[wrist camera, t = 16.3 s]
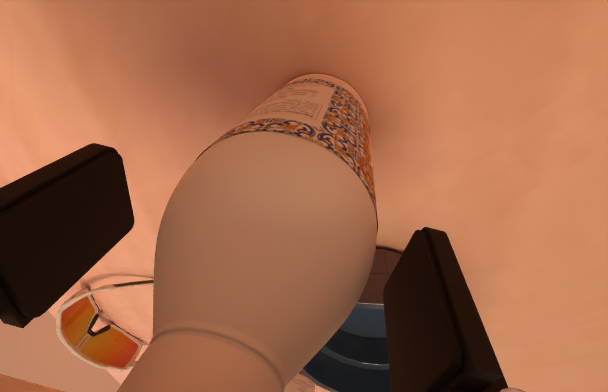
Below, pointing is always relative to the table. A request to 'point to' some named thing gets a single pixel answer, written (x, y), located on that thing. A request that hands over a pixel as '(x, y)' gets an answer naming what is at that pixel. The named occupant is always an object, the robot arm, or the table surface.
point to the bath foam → (263, 245)
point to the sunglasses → (96, 332)
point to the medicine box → (300, 384)
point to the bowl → (359, 340)
